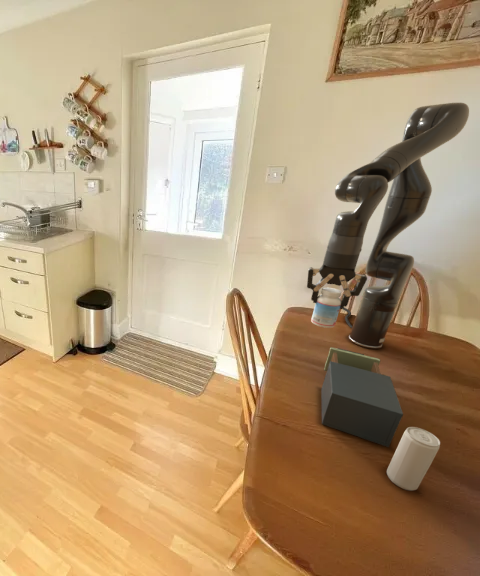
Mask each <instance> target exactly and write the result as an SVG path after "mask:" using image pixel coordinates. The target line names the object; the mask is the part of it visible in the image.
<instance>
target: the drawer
mask: <svg viewBox="0 0 480 576" xmlns="http://www.w3.org/2000/svg"><path fill="white" fill-rule="evenodd" d="M330 361H332V362H336V363H339V364H343V365H347V366H351V367H355V368H359V369H363V370H367V371H370V372H374V373H378V374H382V372H381V370H380V367H379V366H380V363H381V359H380V358H378V357H373V356H369V355H365V354H364V353H360V352H356V351H352V350H347V349H343V348H339V347H338V348H336V347H330V348H329V351H328V355H327V357H326V361H325V364H324V367H323V371H324V372H327V369H328V366H329V363H330Z"/></svg>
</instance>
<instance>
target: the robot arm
mask: <svg viewBox="0 0 480 576" xmlns="http://www.w3.org/2000/svg"><path fill="white" fill-rule="evenodd" d="M469 117H470V108H469V105H468V104H466V103H465V102H448V103H440V104H432V105H431V104H430V105H424V106H419V107H417V108H415V109H414V110H413V111H412V112H411V114H410V115H409V116H408V119H407V121H406V125H405V127H404V131H403V134H402V135H403V136H402V139H401V141H400V142H399V143H396V144H394V145H392V146H390V147H388V148H387V149H385V150H384V151H382V152H381V153H380V154H379V155H377V156H376V157H375V158H374V159H373V160H371V161H370V162H369V163H367V164H364V165H362V166H360V167H358V168H356V169H354V170H352V171H350V172H349V173H347V174H345V175H344V176H343V177H342V178H341V179H340V180H339V181H338V182H337V184H336V186H335V189H334V195H335V198H336V199H337V200H338V201H340V202H343V203H352V204H359V205H358V206H357V207H356V209H354V210H349V211H347V210H346V211H341V212H339V213H338V214H337V215H336V217H335V221H334V223H333V228H332V232H331V235H330V237H329V240H328V243H327V246H326V250H325V254H324V258H323V260H322V261H323V262H322V265H321V266H320V267H319V268H315V267H308V269H307V270H308V273H307V281H306V282H307V283H306V284H307V285H306V288H307V289H310V290H312V294H311V298H310V300H311V301H312V303H313V304H315V303H316V301H317V297H318V296H319V293H320V289H322V288H324V286H325V285H335V286H338V287H340V286H341V287H342V289H343V290H342V291H343V295H342V298H341V306H340V309H341V310H343V311H345V312H346V313H347V314H346V315H345V317H344V320H345V323H346V324H347V326H348V327H350V328H351V330H350V333H349V335H348V340H349V341H350V342H351V343H353V344H355V345H357V346H358V347H359V346H360V347H363V348H366V349H371V350H373V349H374V350H377V349H378V350H379V349H382V347H383V344H384V342H385V341H386V336H387V333H388V330H389V328H390V325H391V322H392V320H393V317H394V314H395V312H396V309H397V306H398V304H399V301H400V298H401V295H402V293H403V290H404V288H405V286H406V283H407V281H408V279H409V277H410V275H411V272H412V270H413V267H414V265H415V258H414V256H413V255H410V254H405V253H400V252H393V251H387V250H388V247H389V245H390V244H391V242H392V241H393V240H394V239H395V238H396V237H397V236H399V235H400V234H401V233H402V232H403V231H404V230H406V229H408V228H409V227H410V226H411V225H413V224H414V223H415V222H416V221H418V220H419V219H420V218H421V217H422V216H423V215H424V213H425V212H426V210H427V207H428V204H429V201H430V199H431V195H432V191H433V188H432V187H433V186H432V184H431V181H430V179H429V177H428V175H427V173H426V171H425V169H424V166H423V163H422V159H421V158H422V157H424V156H426V155H428V154H429V153H431V152H433V151H434V150H436V149H439V147H441V146H442V145H444V144H446V143H448V142H449V141H451V140H452V139H454V138H455V137H457V136H458V135H459V134H460V133H461V132H462V131H463V129H464V128H465V126H466V124H467V122H468V120H469ZM390 182H392V183H391V186H390V189H389V183H390ZM388 189H389V192H388ZM387 192H388V196H387V199H386V202H385V206H384V209H383V214H382V218H381V222H380V225H379V228H378V232H377V235H376V238H375V240H374V243H373V245H372V248H371V251H370V254H369V256H368V259H367V262H366V265H365V273H363V274H359V273H356V268H357V264H358V261H359V257H360V254H361V252H362V250H363V249H362V248H363V243H364V237H365V234H366V231H367V227H368V224H369V221H370V219H371V217H372V216H373V214H374V212H375V211H376V209H377V208H378V206H379V205H380V204H381V202H382V200H383V199H384V197H385V196H386V194H387ZM317 274H319V275H320V276H321V278H320V279H319V280H318V282H316V284H314V283H313V279H314V278H313V277H315V276H317ZM367 276H368V277H370V278H374V279H377V280H378V279H379V280H383V281H388V282H389V284H385V285H374V286H367V287H366V288H364V286H365V284H366V283H367V281H368V277H367ZM354 278H355V281H356V285H355V286H354V288H353V289H351V290H350V287H349V284H348V282H350V281H351V280H353V279H354ZM363 288H364V290H363ZM362 291H363V293H362V296H361V299H360V302H359V305H358V309H357V312H356V315H355V318H354V321H353V323H352V324H351V322H350V320H349V318H350V317H351V316H352V311H350V310H349V309H348V308H346V307H347V306H348V305H349V302H350V298H351V297H359V296H360V294H361V292H362Z"/></svg>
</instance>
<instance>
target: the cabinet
mask: <svg viewBox="0 0 480 576" xmlns="http://www.w3.org/2000/svg"><path fill="white" fill-rule="evenodd" d="M323 379H324V380H323V382H322V385H321V389H320V393H321V395H320V397H321V424H322V425H323V426H326V427H329V428H332V429H334V430H338V431H340V432H343V433H346V434H349V435H351V436H355V437H358V438H361V439H364V440H366V441H369V442H373V443H376V444H378V445H380V446H384V447H387V448H390V445H391V443H392V441H393V439H394V436H395V434H396V432H397V430H398V427H399V425H400V423H401V421H402V418H403V416H404V411H403V410H402V407H401V404H400V401H399V397H398V395H397V392H396V389H395V387H394V383H393V381H392V378H391V376H389V375H386V374H382V373H381V374H378V373H374V372H370V371H367V370H363V369H359V368H355V367H351V366H347V365H343V364H339V363H336V362H332V361H330V363H329V366H328V369H327V371H325V376H324V378H323Z"/></svg>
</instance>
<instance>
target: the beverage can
mask: <svg viewBox="0 0 480 576" xmlns="http://www.w3.org/2000/svg"><path fill="white" fill-rule="evenodd" d="M440 445H441V440H440V439H439V438H438V437H437V436H436V435H435V434H434V433H432V432H430V431H428V430H426V429H424V428H420V427H417V426H409V427H407V428H406V429H405V430H404V432H403V434H402V436H401V438H400V440H399V442H398V445H397V447H396V449H395V452H394V454H393V456H392V458H391V460H390V463H389V464H388V467H387V469H386V475H387V477H388V479H389V480H390V481H391V482H392V483H393V484H394V485H396V486H397V487H399V488H401V489H403V490H405V491H416V490H418V489H419V487H420V485H421V484H422V482H423V480H424V478H425V476H426V474H427V472H428V470H429V468H430V467H431V465H432V463H433V461H434V459H435V457H436V455H437V453H438V452H439V450H440V447H441V446H440Z"/></svg>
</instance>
